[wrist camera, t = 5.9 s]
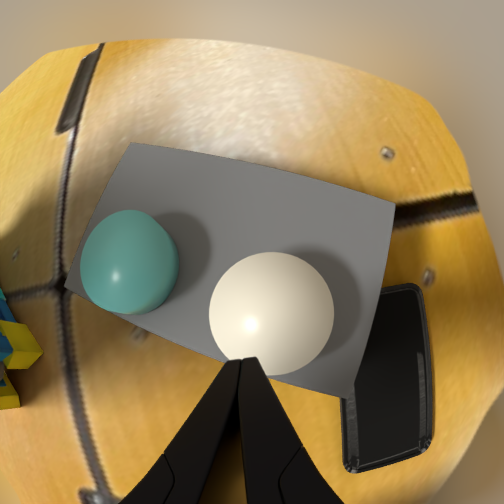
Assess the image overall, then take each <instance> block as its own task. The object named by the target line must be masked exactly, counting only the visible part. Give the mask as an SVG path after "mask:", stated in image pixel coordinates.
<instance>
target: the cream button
mask: <svg viewBox="0 0 504 504" xmlns="http://www.w3.org/2000/svg"><path fill="white" fill-rule="evenodd" d="M209 321H210V327H211V331H212V334H213V337H214V339H215V342H216V343H217V345H218V347H219V348H220V350H221V351H222V352H223V354H224V355H225V356H226V357H227V358H228V359H229V360H233V359H243V358H247V357H253V356H256V357H257V358H258V360H259V362H260V364H261V366H262V368H263V370H264V372H265V374H266V375H282V374H287V373H290V372H293V371H296V370H298V369H300V368H302V367H303V366H305V365H307V364H308V363H309V362H311V361H312V360H313V359H314V358H315V357H316V356H317V355H318V354H319V353H320V352H321V350H322V349H323V348H324V346H325V344H326V343H327V341H328V339H329V336H330V334H331V331H332V327H333V321H334V305H333V299H332V296H331V293H330V290H329V288H328V286H327V284H326V282H325V281H324V279H323V277H322V276H321V275H320V274H319V273H318V271H317V270H315V269H314V268H313V267H312V266H311V265H310V264H308V263H307V262H305V261H304V260H302V259H300V258H298V257H295V256H293V255H290V254H285V253H279V252H265V253H259V254H255V255H252V256H249V257H247V258H244V259H242V260H241V261H239V262H237V263H236V264H235V265H233V266H232V267H231V268H230V269H229V270H228V271H227V272H226V273H225V274H224V275H223V276H222V277H221V279H220V280H219V282H218V283H217V285H216V287H215V289H214V292H213V294H212V298H211V301H210V307H209Z"/></svg>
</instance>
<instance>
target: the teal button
mask: <svg viewBox="0 0 504 504" xmlns="http://www.w3.org/2000/svg"><path fill="white" fill-rule="evenodd" d="M178 271H179V255H178V250H177V247H176V245H175V243H174V240H173V239H172V237H171V236H170V235H169V234H168V233H167V231H166V230H165V229H163V228H162V227H161V226H160V225H159V224H158V223H157V222H156V221H155V220H154V219H153V218H152V217H151V216H149V215H148V214H146V213H144V212H141V211H137V210H123V211H119V212H116V213H114V214H112V215H110V216H108V217H106V218H105V219H104V220H102V221H101V222H100V223H99V224H98V225H97V226H96V227H95V228H94V230H93V231H92V232H91V234H90V235H89V237H88V239H87V241H86V243H85V245H84V248H83V251H82V256H81V262H80V274H81V280H82V284H83V287H84V289H85V291H86V293H87V295H88V296H89V298H90V299H91V300H92V301H93V302H94V303H95V304H96V305H98V306H99V307H101V308H103V309H105V310H108V311H112V312H117V313H122V314H127V315H141V314H145V313H148V312H150V311H152V310H154V309H155V308H157V307H158V306H159V305H161V304H162V303H163V302H164V301H165V300H166V299H167V297H168V296H169V295H170V293H171V291H172V290H173V288H174V285H175V283H176V280H177V277H178Z"/></svg>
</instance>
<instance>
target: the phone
mask: <svg viewBox="0 0 504 504" xmlns="http://www.w3.org/2000/svg"><path fill="white" fill-rule="evenodd" d="M339 398H340V397H339ZM340 412H341V430H342V457H343V465H344V467H345V469H346V470H347V471H348V472H350V473H361V472H365V471H369V470H373V469H377V468H380V467H384V466H387V465H391V464H394V463H397V462H400V461H403V460H406V459H409V458H412V457H415V456H418V455H420V454H422V453H424V452H425V451H426V450H427V449H428V447H429V446H430V444H431V439H432V372H431V357H430V345H429V335H428V327H427V319H426V312H425V305H424V299H423V294H422V291H421V289H420V287H419V286H417V285H416V284H414V283H406V284H401V285H395V286H390V287H384V288H381V290H380V295H379V299H378V303H377V307H376V311H375V315H374V319H373V323H372V326H371V330H370V334H369V337H368V341H367V344H366V347H365V351H364V354H363V357H362V360H361V363H360V366H359V369H358V372H357V375H356V378H355V381H354V384H353V387H352V390H351V392H350V395H349V398H348V399H345V398H340Z"/></svg>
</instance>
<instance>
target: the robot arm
mask: <svg viewBox="0 0 504 504" xmlns="http://www.w3.org/2000/svg"><path fill="white" fill-rule="evenodd" d="M118 504H344V502H343V501H342V500H341V499H340V498H339V497H338V496H337V494H336V493H335V492H334V491H333V490H332V488H331V487H330V486H329V485H328V483H327V482H326V481H325V479H324V478H323V477H322V475H321V474H320V473H319V471H318V469H317V468H316V466H315V465H314V463H313V461H312V460H311V458H310V456H309V454H308V453H307V451H306V449H305V447H303V444H302V442H301V440H300V439H299V437H298V435H297V433H296V431H295V429H294V427H293V426H292V424H291V422H290V420H289V418H288V416H287V414H286V412H285V411H284V409H283V407H282V405H281V403H280V401H279V399H278V397H277V395H276V393H275V391H274V389H273V388H272V386H271V384H270V382H269V380H268V378H267V376H266V374H265V372H264V370H263V368H262V366H261V364H260V362H259V360H258V358H257V357H256V356H253V357H247V358H243V359H233V360H228V361H226V363H225V364H224V366H223V367H222V369H221V370H220V372H219V373H218V375H217V376H216V378H215V379H214V380H213V382H212V383H211V385H210V386H209V388H208V389H207V391H206V392H205V394H204V395H203V397H202V398H201V400H200V401H199V402H198V404H197V405H196V407H195V408H194V410H193V411H192V413H191V414H190V415H189V417H188V418H187V420H186V421H185V423H184V424H183V425H182V427H181V428H180V430H179V431H178V432H177V434H176V435H175V437H174V438H173V439H172V441H171V442H170V444H169V445H168V446H167V448H166V449H165V450H164V454H161V456H160V457H159V458H158V460H157V461H156V463H155V464H154V465H153V466H152V468H151V469H150V470H149V471H148V473H147V474H146V475H145V476H144V478H143V479H142V480H141V481H140V482H139V483H138V484H137V485H136V486H135V487H134V488H133V489H132V491H131V492H130V493H129V494H128V495H127V496H126V497H125V498H123V499H122V500H121V501H120V502H119V503H118Z"/></svg>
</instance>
